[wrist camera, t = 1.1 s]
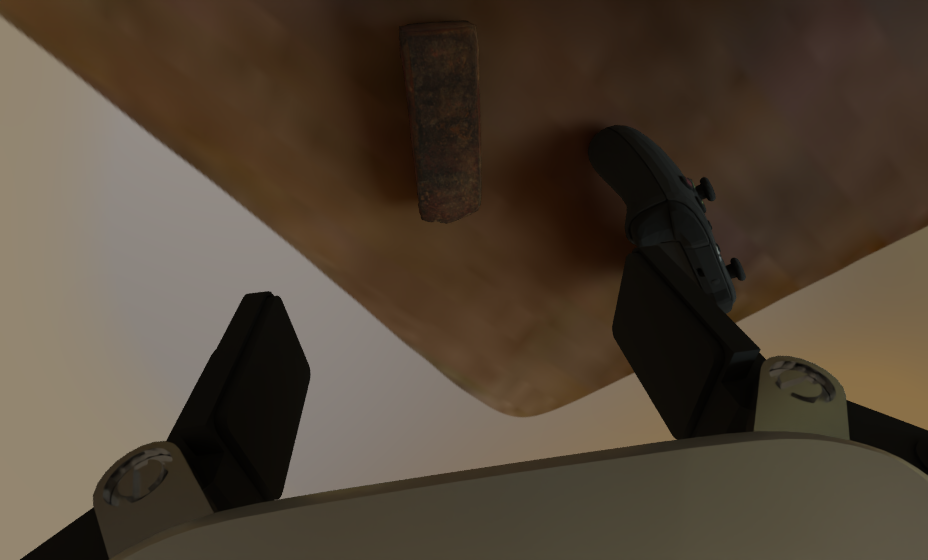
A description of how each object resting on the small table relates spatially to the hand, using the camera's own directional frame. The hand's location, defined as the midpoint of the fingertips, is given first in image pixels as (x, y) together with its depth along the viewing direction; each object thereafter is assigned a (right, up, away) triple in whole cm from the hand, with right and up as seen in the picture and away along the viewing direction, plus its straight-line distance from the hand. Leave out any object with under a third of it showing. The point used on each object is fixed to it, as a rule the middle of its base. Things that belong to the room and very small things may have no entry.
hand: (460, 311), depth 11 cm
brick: (-1, +11, +15) cm, 19 cm away
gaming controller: (+13, +7, +20) cm, 25 cm away
